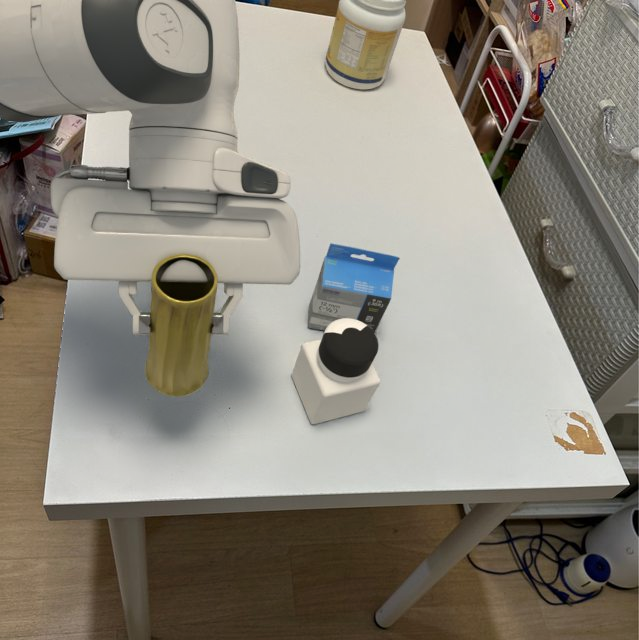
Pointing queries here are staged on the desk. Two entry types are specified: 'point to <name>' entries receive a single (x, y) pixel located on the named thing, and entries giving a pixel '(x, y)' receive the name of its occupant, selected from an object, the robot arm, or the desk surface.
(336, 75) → the supplement tub
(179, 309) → the vase
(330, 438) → the desk surface
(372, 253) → the label tape box
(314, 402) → the medicine bottle
